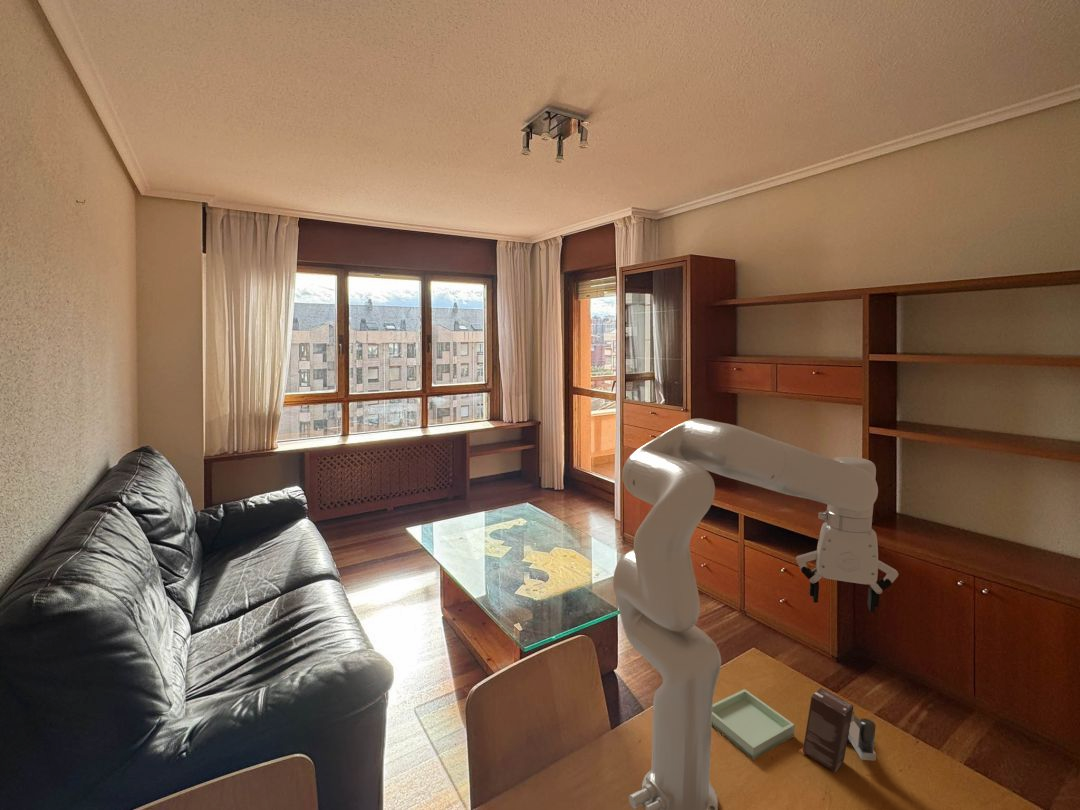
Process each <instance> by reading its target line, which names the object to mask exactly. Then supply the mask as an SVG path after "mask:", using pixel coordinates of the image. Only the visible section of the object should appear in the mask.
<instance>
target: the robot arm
mask: <svg viewBox="0 0 1080 810" xmlns="http://www.w3.org/2000/svg"><path fill="white" fill-rule="evenodd" d="M710 472H711V473H714V474H716V475H719V476H722V477H725V478H729V479H733V480H735V481H740V482H743V483H747V484H750V485H753V486H755V487H760V488H762V489H763V488H764V489H767V490H770V491H774V492H777V493H779V494H784V495H788V496H791V497H792V496H793V497H797V498H803V499H808V500H810V501H811V500H812V501H816V502H819V503H822V504H825V505H827V507H826V510H825V511H822V512H821V511H819V512H818V520H822V521H824V522H823V523H822V525H821V528H820V531H819V535H818V540H817V546H816V550H813V551H810V552H806V553H803V554H799V555H796V557H795V560H796V563H797V564H798V566H799V569H800V571H801V573H802V574H803V575H804V576H805V577H806V578H807V579H808V580H809V593H808V594H809V597H812V600H813V603H814V604H817V603H819V593H820V592H819V591H820V584H819V583H820V582H819V581H820V580H821V579H822V578H824V579H829V580H835V581H840V582H845V583H846V582H847V583H854V584H859V585H860V584H861V585H869V587H868V591H867V592H868V594H867V607H868V610H869V612H870V613H875V611H876V608H879V604H880V594H882V593H883V591H884V590H886V589H888V588H889V587H891V586H892V585H893V583H894V582H895V580H896V579H897V578H898V577H899V575H900V574H899V572H898V570H896V569H895V568H893V567H891V566H890V565H889V564H886V563H884V562H883V561H881V560H879V548H878V545H879V544H878V537H877V532H876V531H875V530H874V529H873V528H872V526H873V525H872V523H873V512H874V504H875V503H876V501H877V499H878V494H879V487H878V482H877V480H876V477H877V476H876V475H877V468H876V464H875V463H874V462H872V461H871V460H868V459H867V458H863V457H857V456H838V457H835V458H830V457H827V456H823V455H821V454H818V453H815V452H813V451H809V450H806V449H804V448H801V447H798V446H796V445H794V444H793V445H792V444H790V443H786V442H784V441H780V440H777V439H775V438H771V437H770V436H769V437H768V436H766V435H764V434H760V433H758V432H755V431H754V430H753V431H752V430H749V429H748V428H747V429H746V428H745V427H742V426H738V425H735V424H730V423H726V422H719V421H715V420H710V419H705V418H691V419H688V420H686V421H683V422H681V423H679V424H677V425H675V426H674V427H672V428H670V429H667V430H666V431H665V432H663V433H661V434H660V435H657V437H654V439H652V440H650V441H648V442H647V443H645V444H644V445H642V446H640V447H639V448H637V449H636V450H634V451H633V452H632V453H631V454H630V456H629V457H628V458H627V459H626V461H625V462H624V465H623V468H622V472H621V473H622V474H621V477H622V478H621V480H622V483H623V485H624V487H625V489H626V490H627V492H628V493H630V494H631V496H633V497H635V498H637V499H638V500H641V501H643V502H646V504H649V505H652V508H651V509H650V510H649V512H648V514H646V516H645V518H644V519H643V521H642V522H641V523H640V525H639V527H638V528H637V530H636V531H635V535H634V537H633V549H632V550H629V551H628V552H626V553H625V554H623V555H622V556H621V557H620V559H619V560H618V562H617V563H616V566H615V569H614V571H613V572H614V573H613V581H612V582H613V583H612V584H613V591H614V595H615V599H616V603H617V606H618V607H617V608H618V610H619V611H618V612H619V615H620V619H621V622H622V627H623V629H624V633H625V636H626V638H627V641H628V642H629V643H630V645H631V647H632V648H633V649H635V651H636V652H638V654H639V655H641V656H642V657H643V658H644V659H645V660H646V661H647V662H648V663H649V664H651V666H652V667H653V668H654V669H656V670H657V672H658V673H659V674H660V675H661V677H662V683H661V685H660V686H659V687H658V688H657V689H656V690H655V692H654V696H653V703H652V737H651V739H652V741H651V742H652V743H651V769H650V770H649V771H647V773H646V774H645V776H644V777H643V779H642V782H641V783H642V784H641V789H640V790H637V791H635V792H632V793H631V794H629V795H628V802H629V804H630V805H629V806H631V808H632V809H634V810H636V809H638V808H639V807H642V806H643V805H644V807H645V809H644V810H719V801H718V800H719V799H718V796H717V792H716V790H715V788H714V787H713V785H712V783H711V782H710V773H711V771H710V770H711V748H712V746H711V745H712V727H713V726H712V707H713V704H714V697H715V690H716V687H717V682H718V679H719V676H720V672H721V668H722V667H721V666H722V656H721V652H720V650H719V648H718V646H717V644H716V643H715V642H714V640H712V638H711V637H710V636H709V635H708V634H707V633H706V632H704V631H703V630H702V629H701V628H700V627H698V626H697V625H695V624H696V623H697V622H698V620H699V617H700V614H701V613H700V612H701V602H700V601H701V600H700V596H699V590H698V585H697V580H696V576H695V571H694V566H693V561H692V557H691V556H692V555H691V547H690V544H691V539H692V536H693V534H694V532H695V531H696V528H697V527H698V525H699V523H700V522H701V521H702V519H703V518H704V517H705V515H706V514H707V513H708V512H709V510H710V508H711V506H712V504H713V502H714V499H715V495H716V494H715V492H716V485H715V480H714V478H713V477H712V475H711V474H710ZM811 561H815V565H816V567H814V568H812V570H811V569H810V568H809V567H808V565H807V564H806V563H807V562H808V563H809V562H811ZM879 571H881V572H883V573H885V574H886V575H885V576H883V577H881V578H880V579H879V580H878V575H879Z"/></svg>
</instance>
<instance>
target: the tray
mask: <svg viewBox="0 0 1080 810" xmlns="http://www.w3.org/2000/svg"><path fill="white" fill-rule="evenodd" d="M712 727H713V728H714V729H716V731H717V732H718V733H720V734H721V735H723V736H724V737H725V738H726V739H727V740H729V741H730V742H731V743H732V744H733V745H734V746H735V747H737V748H738V750H740V751H741V752H743V753H744V754H745V755H746V756H748V757H749V759H751V760H752V761H754V760H755V759H757V758H758V757H761V756H762V755H764V754H766V753H767V752H770V751H771V750H773V749H774V748H776V747H778V746H779V745H781V744H782V743H783V744H784V742H786V741H788V740H790V739H792V738H793V737H794V736H795V724H794V723H793V722H792V721H790V720H789V719H788V718H786V717H785V716H783V715H782V714H780V713H779V712H778V711H776V710H775V709H773V708H772V707H770V706H769V705H768V704H767V703H765V702H764V701H762V700H761V699H760V698H758V697H757V696H755V695H754V694H752V692H749V691H748V690H747V689H746V688H743V689H742V690H740V691H738V692H735V693H733V694H731V695H729V696H727V697H725V698H723V699H720V700H719V701H717V702H715V703H714V702H713V707H712Z"/></svg>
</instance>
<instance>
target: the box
mask: <svg viewBox="0 0 1080 810" xmlns="http://www.w3.org/2000/svg"><path fill="white" fill-rule="evenodd" d="M853 710H854V704H852V703H850V702H849V701H847V700H845V699H843V698H840V697H839V696H837V695H836V694H833V692H830V691H828V690H826V689H824V688H823V687H820V688H819V689H817V690H816V691H815V692H814V693H813V694H812V695H810V704H809V710H808V715H807V723H806V729H805V735H804V742H803V747H802V748H803V752H805V753H806V755H808V756H809V757H810V758H812V759H814V760H815V761H817V762H818V763H820V764H822V765H823V766H824V767H826V768H827V769H829V770H830V771H832V772H833V773H836V772H837V771H838V769H839V768H840V767H841V766H842V764H843V763H844V762H845V757H846V750H847V744H848V742H847V740H848V735H849V729H850V723H851V718H852V712H854V711H853Z"/></svg>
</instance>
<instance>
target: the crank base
mask: <svg viewBox="0 0 1080 810" xmlns="http://www.w3.org/2000/svg"><path fill="white" fill-rule="evenodd" d="M860 720H861V719H859V718H858V717H857V716H856V715H854V721H855V723H856V724H857V726H858V727H859V728H860ZM847 743H851V742H850V740H849V739H848V740H847ZM798 753H800V754H801V755H803V756H806V755H807V754H806V753H805V752H803V747H802V748H800V749H798Z"/></svg>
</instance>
